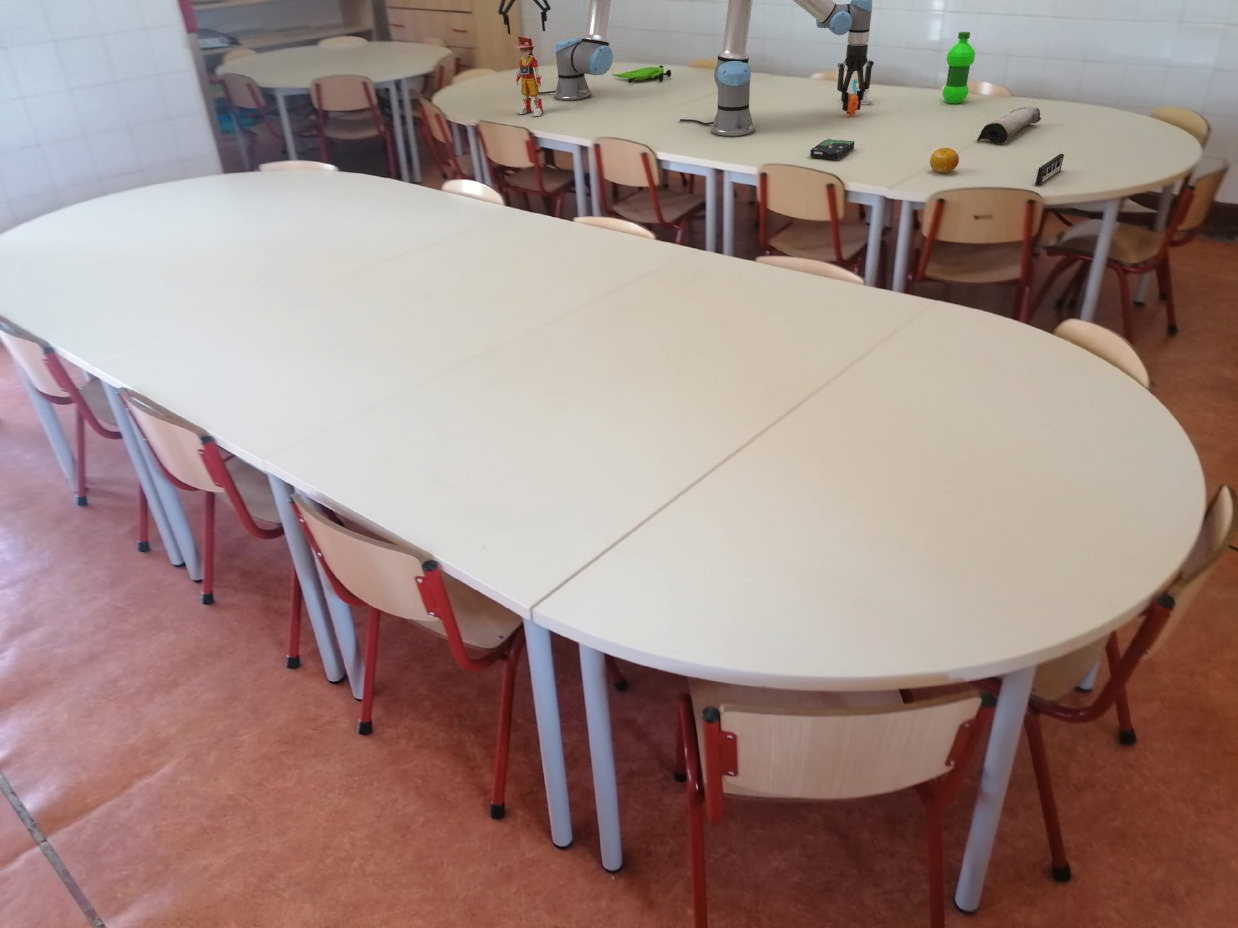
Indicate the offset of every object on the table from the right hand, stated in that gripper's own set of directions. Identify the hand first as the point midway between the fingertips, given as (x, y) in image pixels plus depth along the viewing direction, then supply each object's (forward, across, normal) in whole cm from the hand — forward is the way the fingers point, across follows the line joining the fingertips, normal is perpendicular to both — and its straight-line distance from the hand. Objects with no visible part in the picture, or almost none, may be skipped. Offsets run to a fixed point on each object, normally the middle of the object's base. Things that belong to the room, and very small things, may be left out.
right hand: (851, 109), depth 344 cm
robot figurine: (+2, 0, 0) cm, 2 cm away
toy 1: (+4, +118, -55) cm, 130 cm away
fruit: (+2, +1, +74) cm, 75 cm away
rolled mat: (+2, -41, +43) cm, 59 cm away
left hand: (-29, +118, -46) cm, 130 cm away
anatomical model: (+3, -11, -21) cm, 24 cm away
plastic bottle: (+2, -45, -4) cm, 45 cm away
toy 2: (+3, +62, -103) cm, 120 cm away
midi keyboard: (+2, -26, +91) cm, 95 cm away
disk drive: (+3, +25, +44) cm, 50 cm away
